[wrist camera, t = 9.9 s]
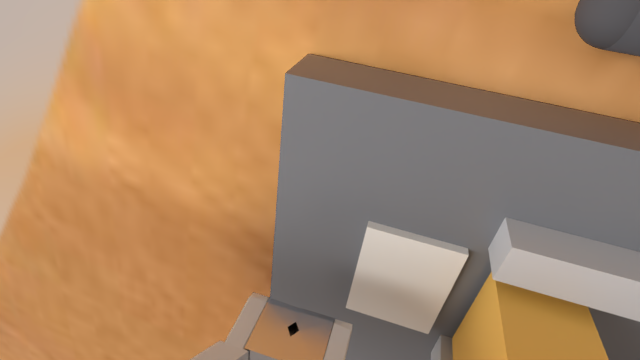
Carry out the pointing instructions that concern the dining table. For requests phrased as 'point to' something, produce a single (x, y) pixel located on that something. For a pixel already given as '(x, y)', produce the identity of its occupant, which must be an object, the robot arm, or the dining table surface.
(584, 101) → the dining table surface
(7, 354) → the dining table surface
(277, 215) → the grey slider track base
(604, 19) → the dressed cords
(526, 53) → the dining table surface
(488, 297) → the lever
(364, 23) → the dining table surface
